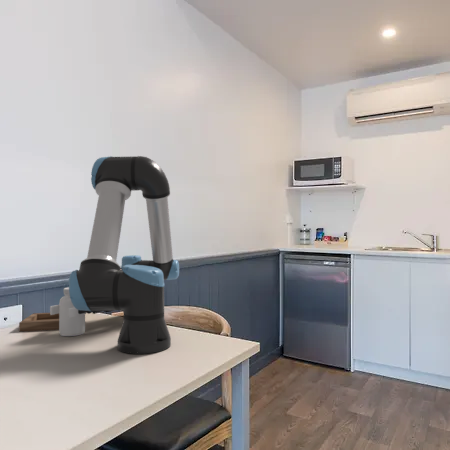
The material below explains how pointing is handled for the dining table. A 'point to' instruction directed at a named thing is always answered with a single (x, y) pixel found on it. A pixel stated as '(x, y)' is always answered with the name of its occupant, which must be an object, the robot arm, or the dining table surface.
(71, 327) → the pill bottle
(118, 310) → the robot arm
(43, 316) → the tray
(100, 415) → the dining table surface
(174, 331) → the dining table surface
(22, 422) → the dining table surface
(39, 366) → the dining table surface
